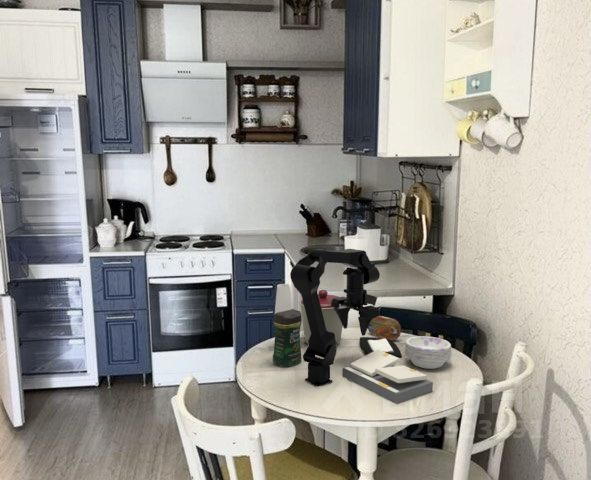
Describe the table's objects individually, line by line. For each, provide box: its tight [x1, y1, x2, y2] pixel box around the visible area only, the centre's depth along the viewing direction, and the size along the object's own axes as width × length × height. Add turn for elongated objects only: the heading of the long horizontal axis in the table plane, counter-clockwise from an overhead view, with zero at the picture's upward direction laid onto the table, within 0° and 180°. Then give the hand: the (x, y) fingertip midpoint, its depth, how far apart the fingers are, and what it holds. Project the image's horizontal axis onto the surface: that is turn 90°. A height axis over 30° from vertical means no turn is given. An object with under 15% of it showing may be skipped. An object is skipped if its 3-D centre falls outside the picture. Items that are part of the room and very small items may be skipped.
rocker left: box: [350, 349, 400, 377], centre depth 177 cm, size 12×10×1 cm
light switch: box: [359, 336, 403, 359], centre depth 204 cm, size 20×3×14 cm
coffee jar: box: [272, 308, 303, 368], centre depth 189 cm, size 10×8×19 cm
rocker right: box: [375, 365, 428, 383], centre depth 167 cm, size 12×10×1 cm
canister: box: [298, 289, 344, 346], centre depth 208 cm, size 18×18×21 cm
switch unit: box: [342, 364, 434, 405], centre depth 172 cm, size 15×24×4 cm, turn 35°
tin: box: [367, 315, 402, 341], centre depth 217 cm, size 15×3×8 cm, turn 43°
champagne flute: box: [274, 283, 293, 314], centre depth 203 cm, size 7×7×24 cm
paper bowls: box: [404, 335, 452, 370], centre depth 189 cm, size 15×15×8 cm
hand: (354, 331), depth 186 cm, fingers open, 9 cm apart
